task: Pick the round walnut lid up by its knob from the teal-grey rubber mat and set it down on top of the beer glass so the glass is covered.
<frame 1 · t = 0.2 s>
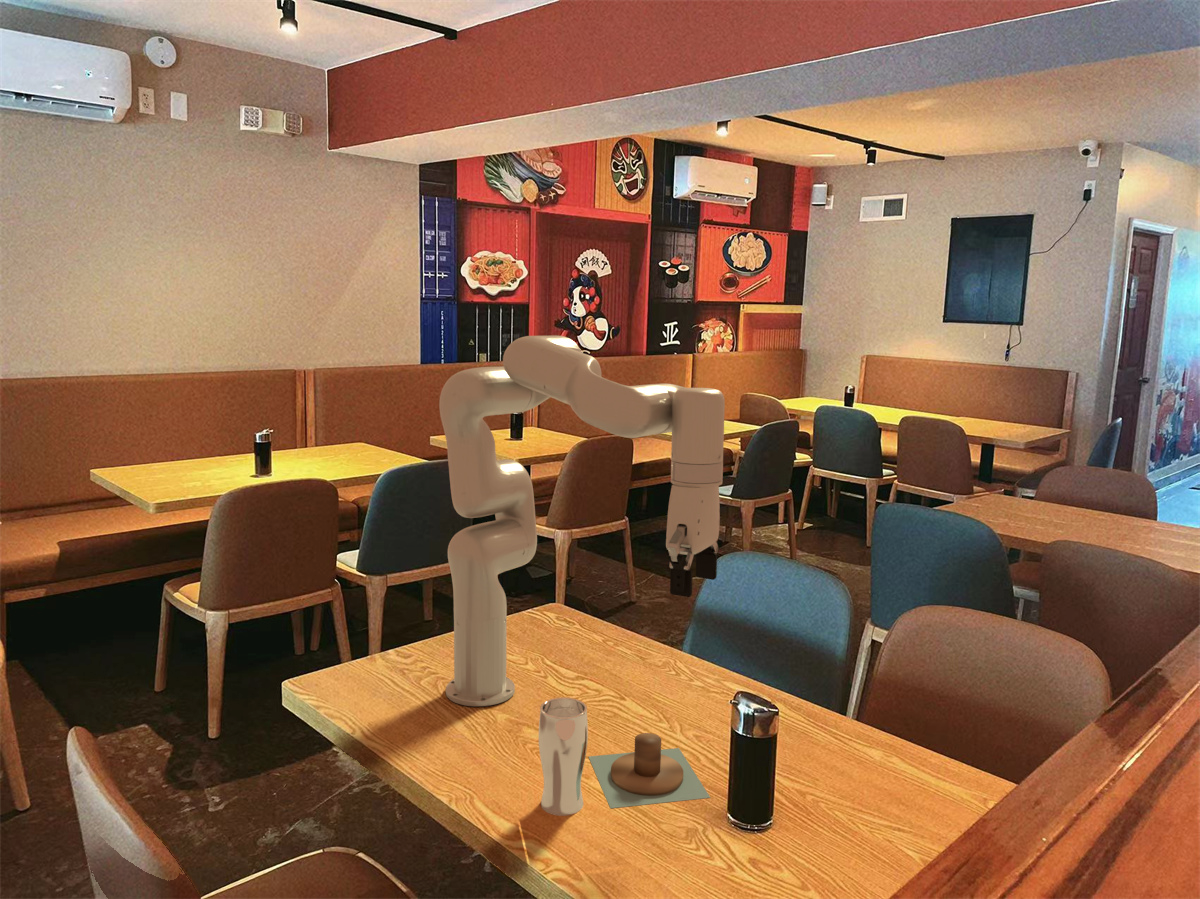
hand: (693, 586, 132), 30 cm above the table, tool pointing down, fingers open, 9 cm apart
beer glass: (562, 807, 127), on the table
walnut lid: (646, 776, 135), resting on rubber mat
rubber mat: (646, 778, 135), on the table
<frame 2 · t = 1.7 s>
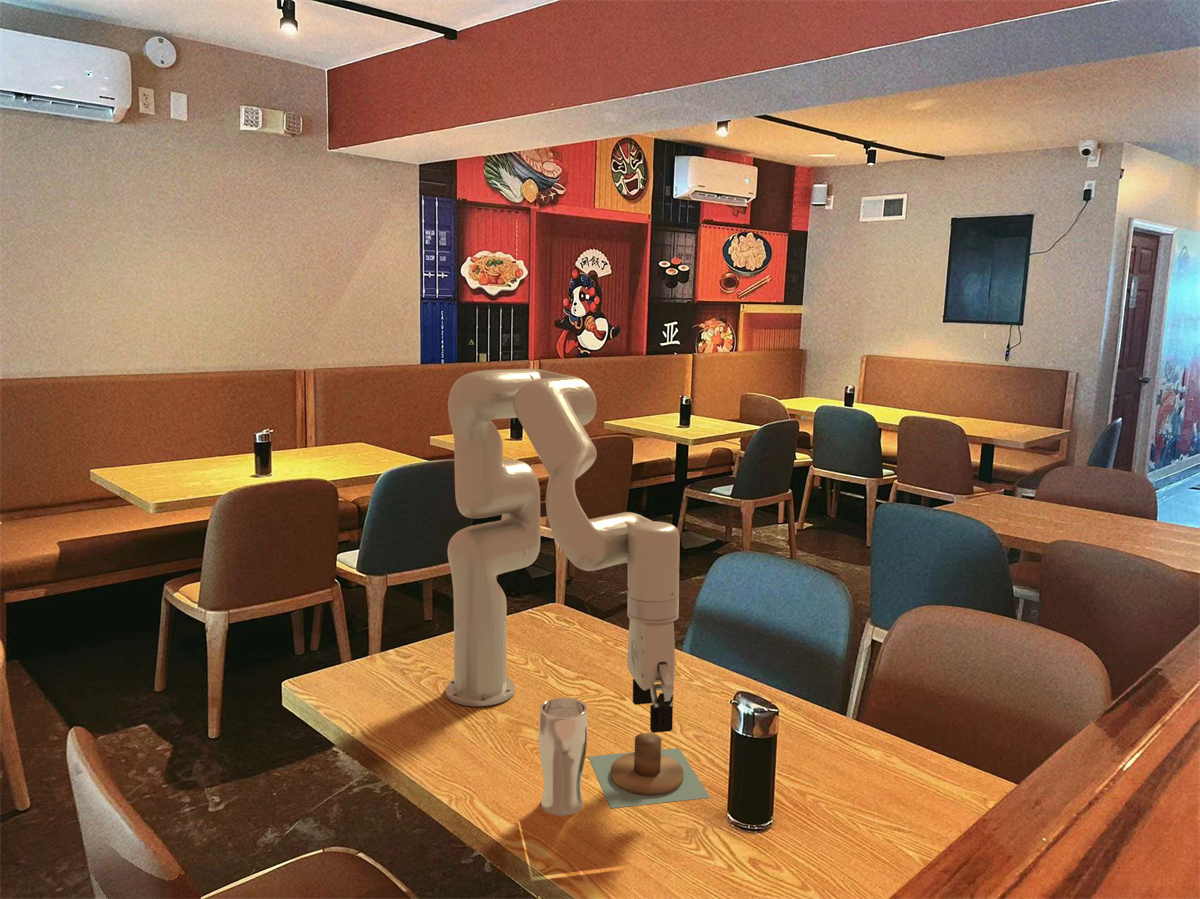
hand: (651, 716, 133), 10 cm above the table, tool pointing down, fingers open, 9 cm apart
nothing on the table moved.
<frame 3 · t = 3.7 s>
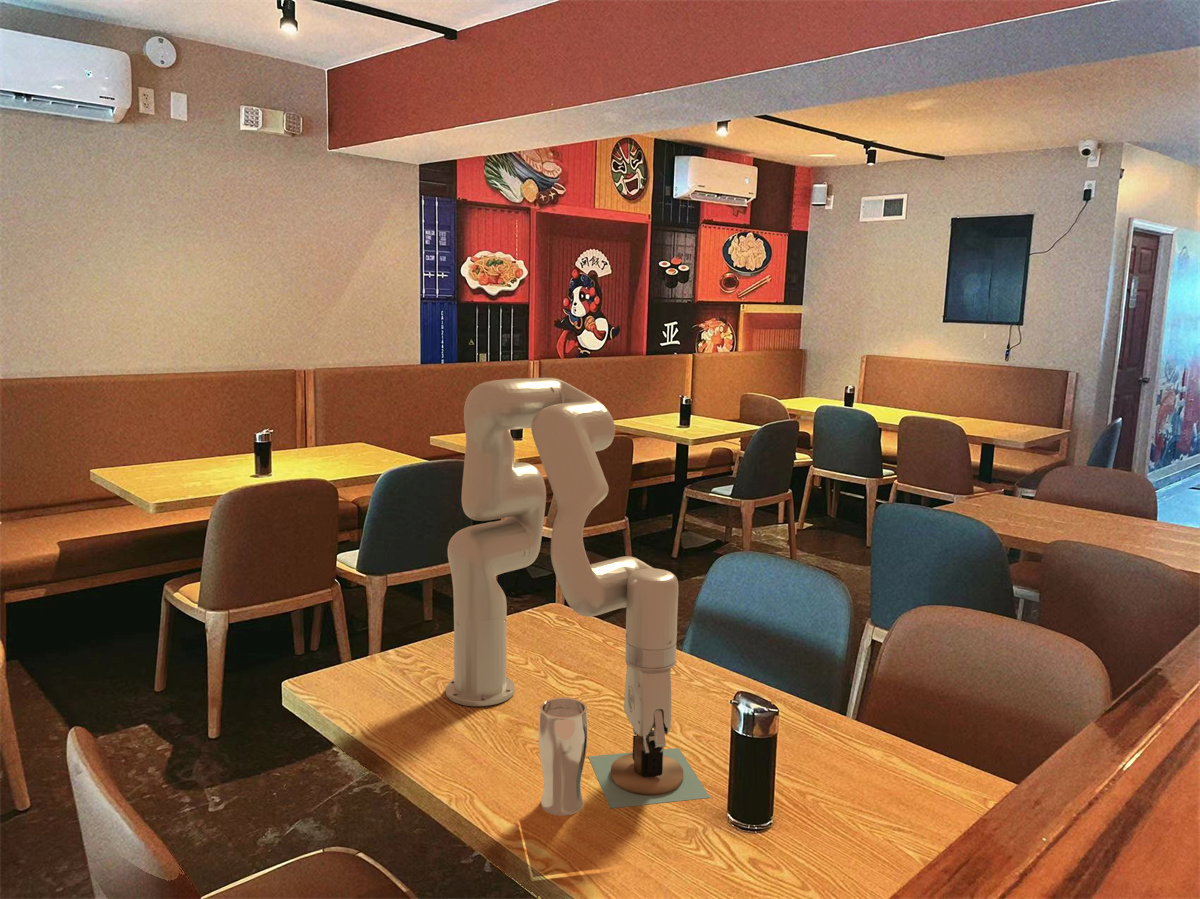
hand: (647, 766, 135), 2 cm above the table, tool pointing down, fingers closed on walnut lid, 4 cm apart
walnut lid: (646, 776, 135), resting on rubber mat, touching gripper
everything else where it was.
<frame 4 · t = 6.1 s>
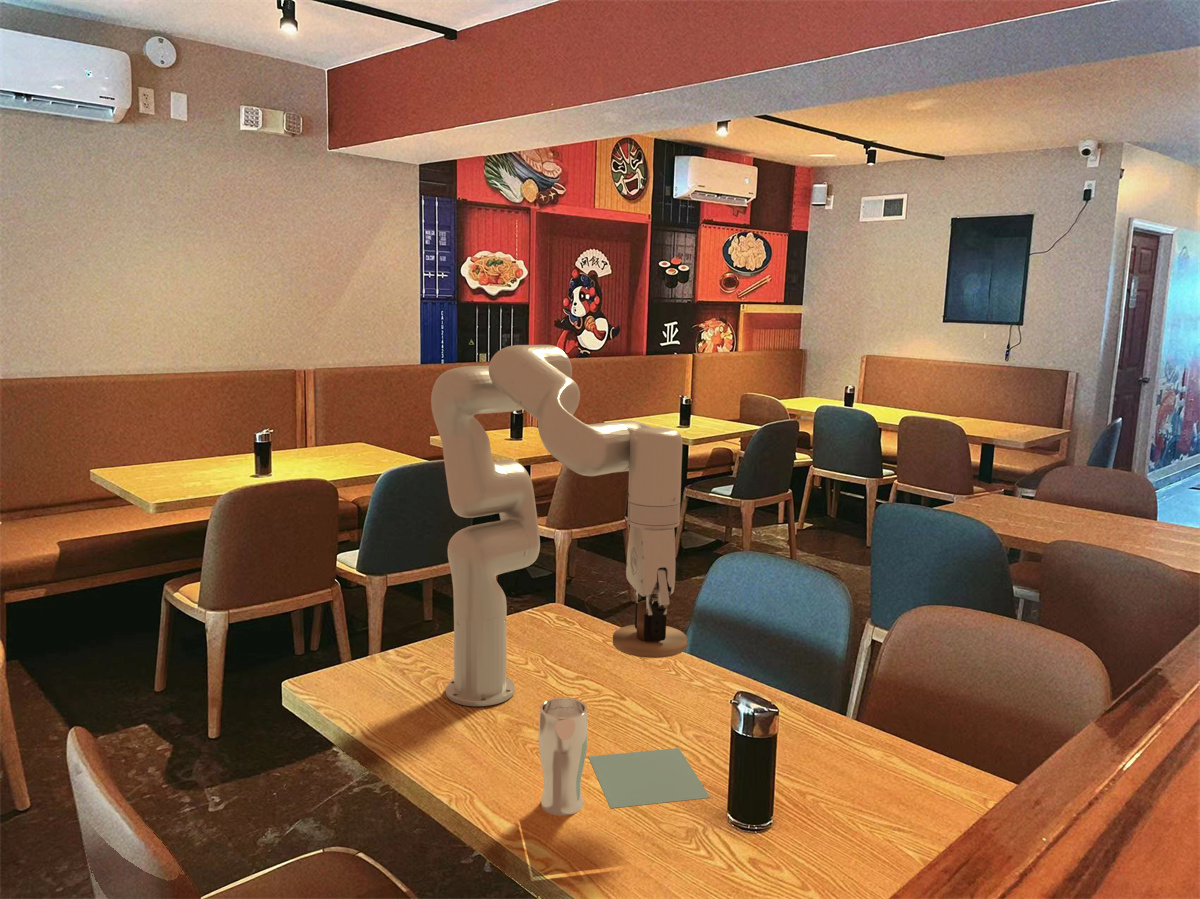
hand: (649, 633, 131), 23 cm above the table, tool pointing down, fingers closed on walnut lid, 4 cm apart
walnut lid: (649, 643, 132), point 22 cm above the table, touching gripper
everything else where it was.
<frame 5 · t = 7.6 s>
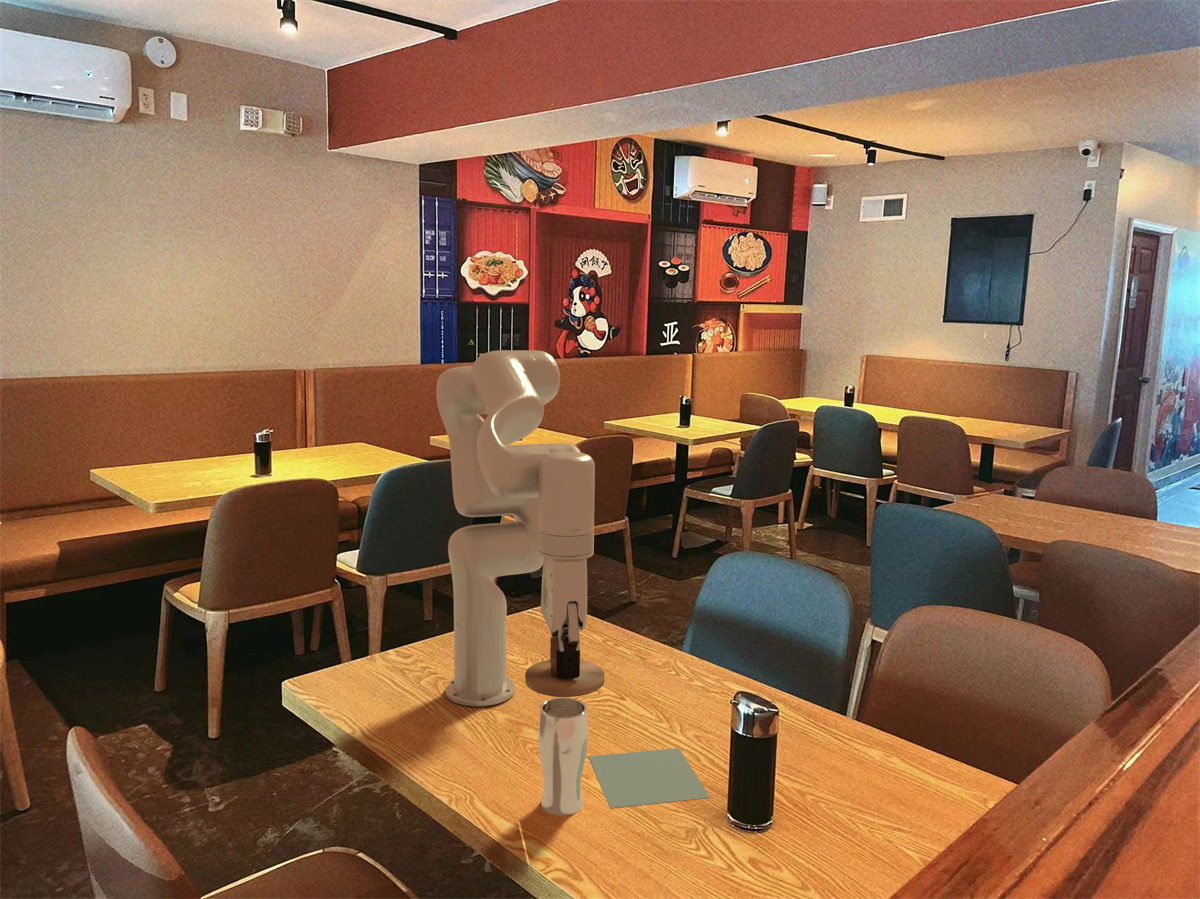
hand: (564, 669, 124), 21 cm above the table, tool pointing down, fingers closed on walnut lid, 4 cm apart
walnut lid: (564, 680, 124), point 19 cm above the table, touching gripper
everything else where it was.
when the fingers open (18 cm above the table, at t = 8.8 s): walnut lid stays where it is, resting on beer glass.
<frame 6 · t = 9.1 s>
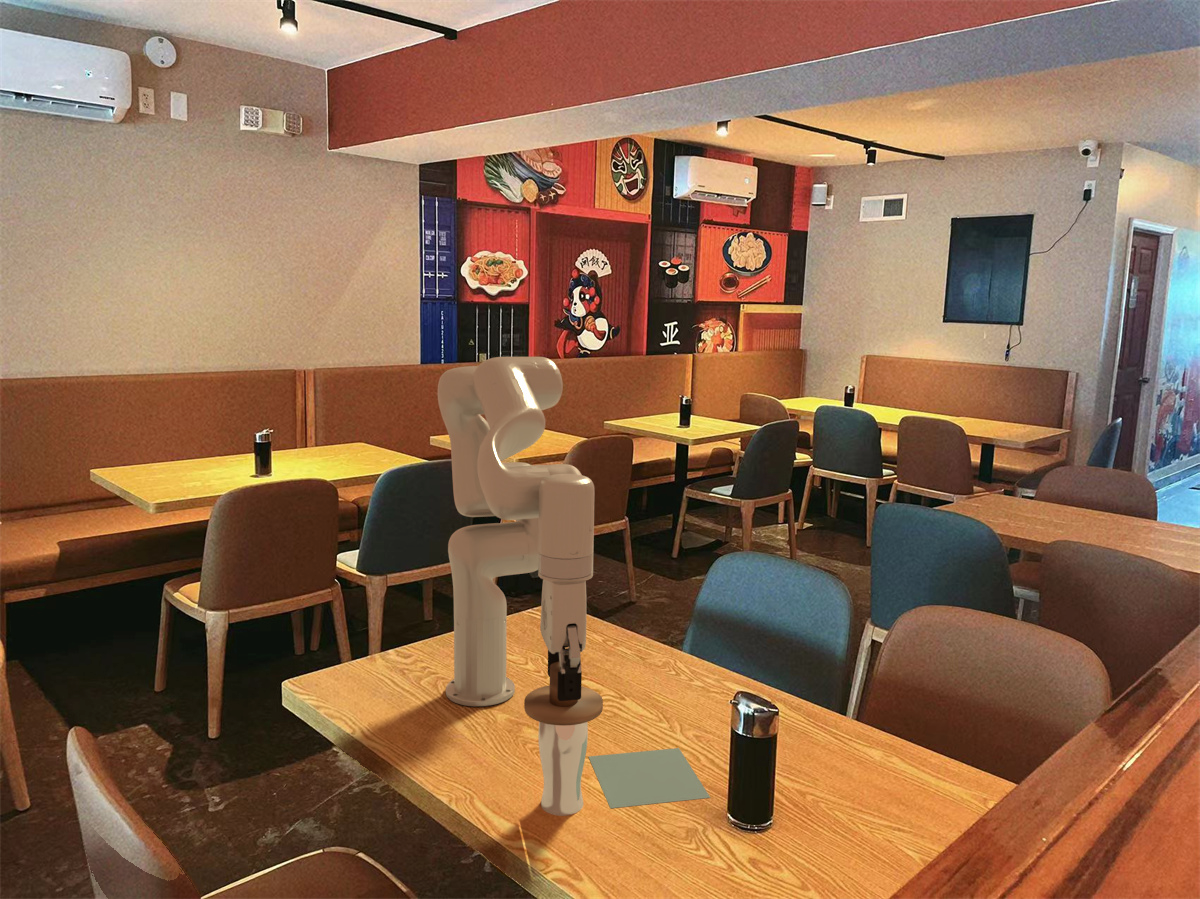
hand: (563, 686, 124), 18 cm above the table, tool pointing down, fingers open, 7 cm apart
beer glass: (562, 807, 127), on the table, touching walnut lid
walnut lid: (563, 707, 125), point 15 cm above the table, touching beer glass
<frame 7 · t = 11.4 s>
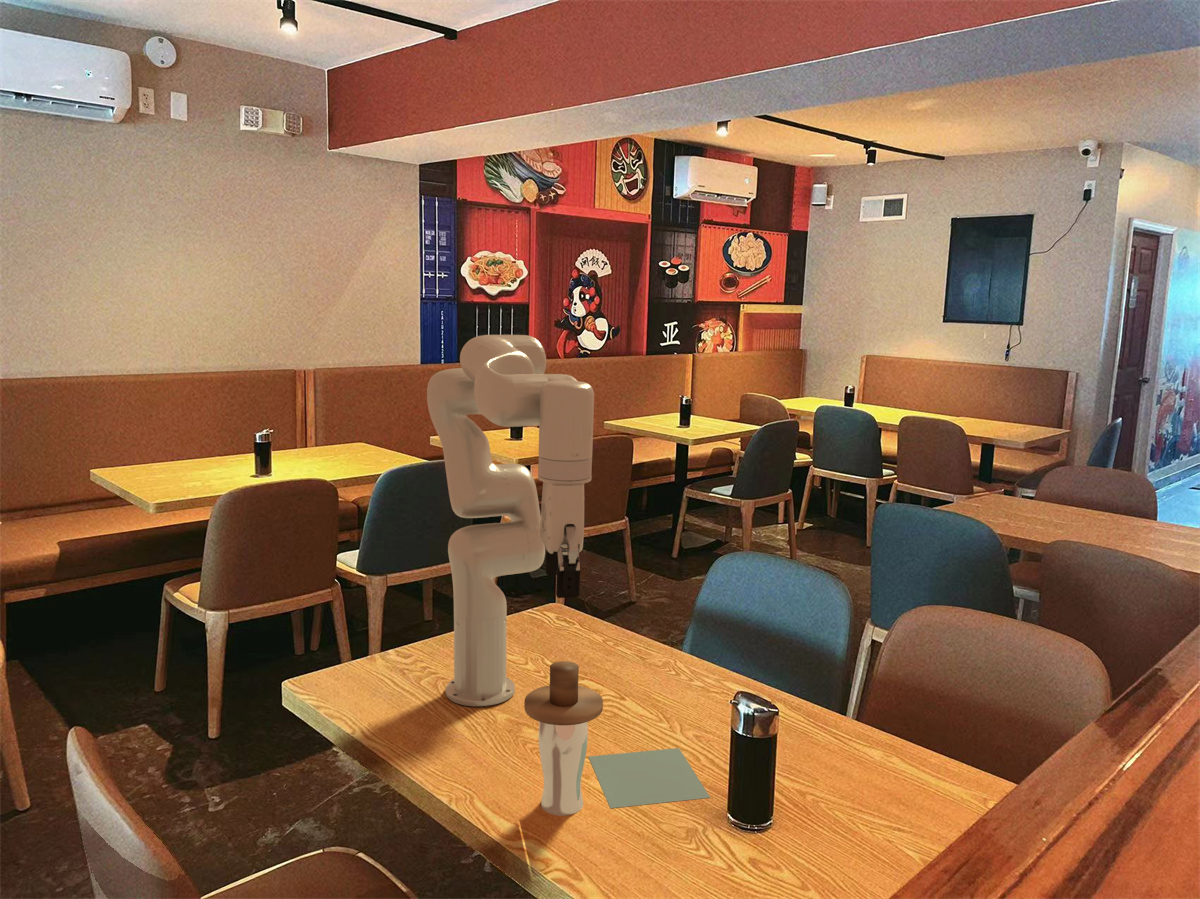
hand: (561, 585, 128), 31 cm above the table, tool pointing down, fingers open, 9 cm apart
nothing on the table moved.
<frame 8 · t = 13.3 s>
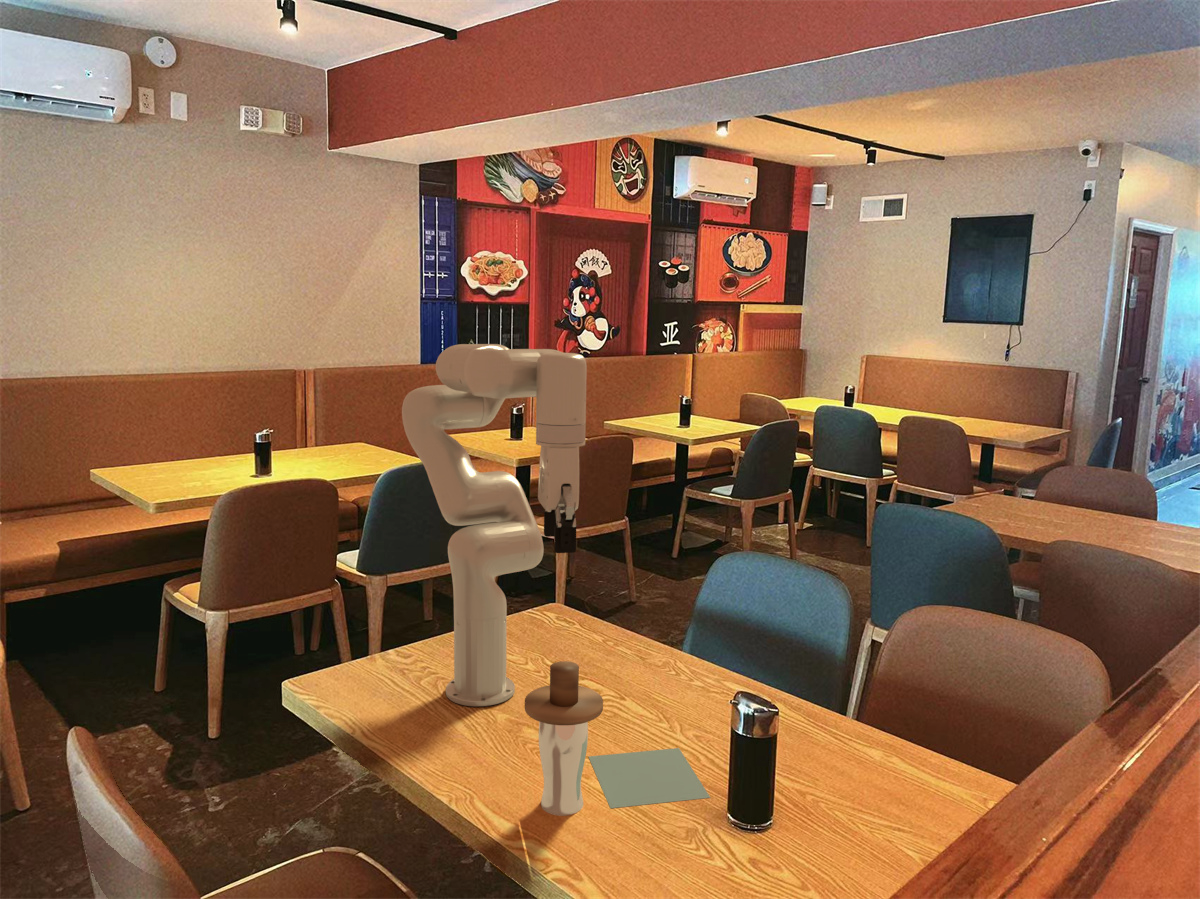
hand: (559, 543, 138), 34 cm above the table, tool pointing down, fingers open, 9 cm apart
nothing on the table moved.
at the end: walnut lid 0.1 cm from the beer glass (horizontally); walnut lid point 15.0 cm above the table; beer glass tilted 0° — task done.
